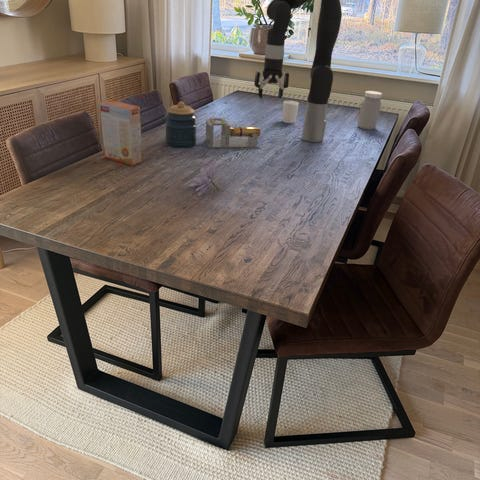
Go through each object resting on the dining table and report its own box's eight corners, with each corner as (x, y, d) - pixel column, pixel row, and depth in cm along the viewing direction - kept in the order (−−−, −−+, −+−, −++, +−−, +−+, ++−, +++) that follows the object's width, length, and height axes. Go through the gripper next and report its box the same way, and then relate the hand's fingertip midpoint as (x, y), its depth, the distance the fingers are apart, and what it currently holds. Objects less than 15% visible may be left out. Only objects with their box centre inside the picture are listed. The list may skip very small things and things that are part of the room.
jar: (373, 125, 237) (381, 91, 228) (377, 131, 228) (385, 95, 219) (355, 124, 237) (362, 89, 228) (358, 129, 229) (365, 93, 220)
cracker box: (143, 162, 166) (140, 106, 156) (132, 166, 162) (128, 109, 151) (115, 153, 172) (111, 99, 161) (104, 157, 167) (99, 101, 157)
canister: (190, 150, 182) (191, 107, 173) (161, 146, 184) (160, 103, 175) (199, 141, 193) (200, 100, 184) (171, 137, 195) (171, 96, 186)
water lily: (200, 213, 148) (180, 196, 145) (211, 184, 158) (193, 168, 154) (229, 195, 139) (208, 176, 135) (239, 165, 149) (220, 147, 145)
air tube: (257, 135, 195) (258, 125, 193) (259, 138, 192) (260, 128, 190) (228, 135, 192) (229, 125, 190) (230, 138, 189) (231, 128, 187)
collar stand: (252, 140, 200) (254, 117, 195) (258, 148, 191) (261, 124, 186) (204, 140, 194) (205, 117, 189) (208, 148, 185) (209, 124, 180)
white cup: (296, 124, 228) (299, 104, 223) (281, 123, 228) (284, 103, 223) (295, 120, 235) (298, 101, 230) (280, 119, 235) (283, 99, 230)
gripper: (287, 56, 183) (283, 96, 191) (254, 54, 180) (251, 95, 188) (293, 59, 177) (288, 100, 185) (259, 57, 173) (256, 99, 181)
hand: (270, 97), depth 186 cm, fingers open, 8 cm apart
